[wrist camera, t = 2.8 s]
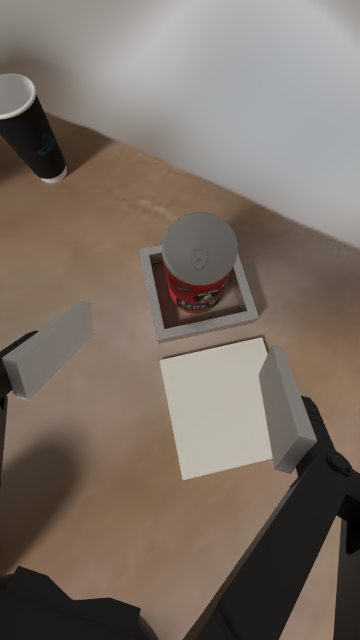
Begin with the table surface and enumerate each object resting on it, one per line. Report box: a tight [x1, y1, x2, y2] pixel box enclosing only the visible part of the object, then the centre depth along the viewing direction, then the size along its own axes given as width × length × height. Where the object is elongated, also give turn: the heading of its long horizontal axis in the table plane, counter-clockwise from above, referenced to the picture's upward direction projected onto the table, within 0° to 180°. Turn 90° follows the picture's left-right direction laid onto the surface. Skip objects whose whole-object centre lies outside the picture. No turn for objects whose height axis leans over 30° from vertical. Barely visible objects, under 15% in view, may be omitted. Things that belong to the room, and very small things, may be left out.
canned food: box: [162, 212, 238, 313], centre depth 27 cm, size 8×8×11 cm
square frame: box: [139, 245, 259, 343], centre depth 31 cm, size 13×13×2 cm
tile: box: [160, 337, 273, 480], centre depth 28 cm, size 14×14×1 cm
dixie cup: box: [0, 74, 67, 183], centre depth 33 cm, size 8×8×11 cm
